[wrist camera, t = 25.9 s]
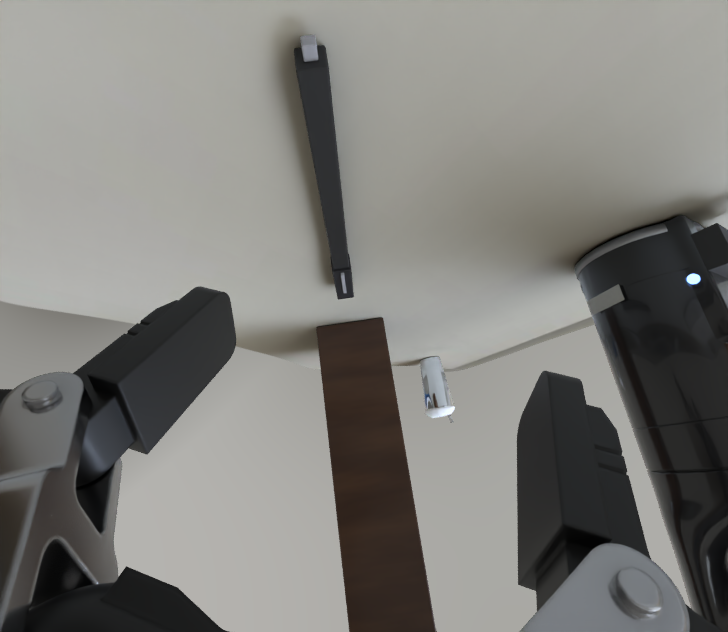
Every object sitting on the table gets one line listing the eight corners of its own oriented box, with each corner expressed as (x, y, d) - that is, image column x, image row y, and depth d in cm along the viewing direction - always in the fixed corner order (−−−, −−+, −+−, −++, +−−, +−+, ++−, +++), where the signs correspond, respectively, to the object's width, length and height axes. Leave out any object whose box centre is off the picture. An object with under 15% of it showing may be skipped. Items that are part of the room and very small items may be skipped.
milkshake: (427, 364, 68) (439, 424, 65) (410, 361, 64) (422, 425, 61) (451, 357, 65) (465, 420, 62) (434, 354, 61) (448, 420, 58)
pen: (351, 283, 33) (354, 299, 32) (335, 285, 33) (338, 302, 32) (326, 25, 13) (331, 57, 13) (287, 30, 13) (290, 62, 13)
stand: (385, 346, 53) (433, 630, 43) (322, 355, 53) (354, 643, 42) (391, 306, 39) (464, 715, 28) (305, 318, 39) (346, 736, 28)
